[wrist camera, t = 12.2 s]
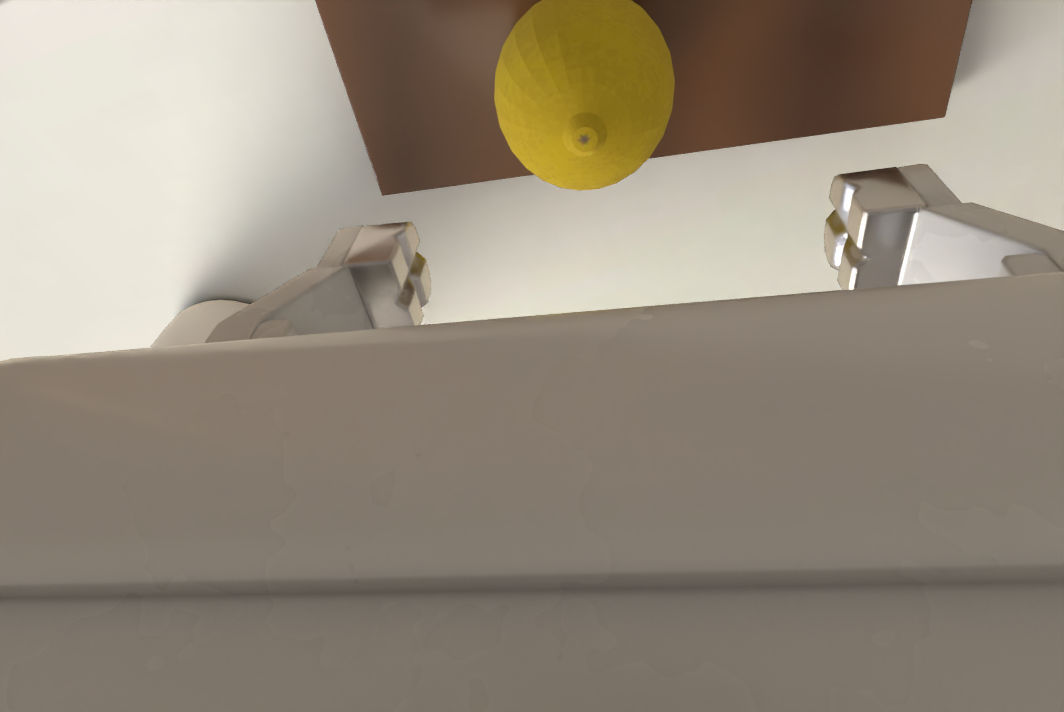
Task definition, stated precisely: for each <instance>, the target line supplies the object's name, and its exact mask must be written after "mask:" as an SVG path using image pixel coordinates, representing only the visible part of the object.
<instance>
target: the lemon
mask: <svg viewBox="0 0 1064 712" xmlns="http://www.w3.org/2000/svg"><path fill="white" fill-rule="evenodd" d="M674 86H675V78H674V72H673V66H672V60H671V54H670V51H669V49H668V47H667V44H666V42H665V40H664V38H663V36H662V33H661V31H660V29H659V27H658V26H657V25H656V24H655V22H654V21H653V20H652V19H651V18H650V16H649V15H648V14H647V13H646V12H645V10H644V9H643V8H642V7H640V6H639V5H637V4H636V3H634V2H633V1H632V0H541V1H540V2H538V3H536V4H534V5H533V6H532V7H531V8H530V9H529V10H528V11H527V12H526V13H525V14H524V15H523V16H522V17H521V18H520V19H519V20H518V21H517V23H516V24H515V26H514V27H513V29H512V31H511V32H510V34H509V36H508V38H507V39H506V41H505V43H504V44H503V47H502V50H501V54H500V57H499V61H498V64H497V68H496V72H495V93H494V100H495V106H496V111H497V115H498V120H499V125H500V128H501V130H502V132H503V134H504V136H505V138H506V140H507V143H508V145H509V147H510V149H511V150H512V152H513V153H514V154H515V155H516V157H517V158H518V159H519V160H520V161H521V163H522V164H523V165H524V166H525V167H526V168H527V169H528V170H529V171H531V172H532V173H534V174H535V175H536V176H538V177H539V178H540V179H542V180H543V181H546V182H548V183H551V184H553V185H556V186H558V187H561V188H566V189H573V190H592V189H600V188H603V187H606V186H609V185H612V184H615V183H617V182H619V181H620V180H622V179H624V178H625V177H627V176H629V175H630V174H632V173H634V172H635V171H636V170H637V169H638V168H639V167H640V166H641V165H642V164H643V163H644V162H645V161H646V160H647V159H648V158H650V156H651V154H652V153H653V151H654V150H655V148H656V147H657V145H658V143H659V142H660V140H661V139H662V137H663V135H664V132H665V129H666V127H667V124H668V121H669V118H670V115H671V112H672V107H673V97H674Z"/></svg>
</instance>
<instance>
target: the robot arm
mask: <svg viewBox="0 0 1064 712" xmlns="http://www.w3.org/2000/svg"><path fill="white" fill-rule="evenodd" d="M829 199H830V200H831V202H832V204H833V206H834V208H835V210H834V211H833V212H832V213H831V215H830V216H829V217H828V218H827V219H826V224H825V233H824V244H825V253H826V257H827V260H828V262H829V264H830V266H831V267H832V268H834V269H836V270H838V271H839V273H838V279H837V281H838V283H839V285H840V287H841V288H842V290H837V291H825V292H813V293H801V294H789V295H777V296H765V297H753V298H741V299H729V300H717V301H705V302H693V303H681V304H669V305H657V306H645V307H633V308H621V309H609V310H597V311H585V312H573V313H561V314H548V315H536V316H524V317H512V318H500V319H488V320H476V321H464V322H452V323H440V324H428V325H421V323H422V320H423V317H424V315H423V312H422V309H421V308H422V307H423V306H424V305H426V304H427V303H428V301H429V297H430V294H431V279H430V273H429V268H428V265H427V261H426V259H425V258H424V257H422V256H421V255H420V254H419V253H418V252H416V251H417V248H418V246H419V243H420V239H419V236H418V233H417V230H416V227H415V226H414V225H413V224H412V222H402V223H391V224H380V225H369V226H363V225H362V226H356V227H349V228H343V229H339V230H338V232H337V234H336V235H335V237H334V239H333V240H332V242H331V244H330V246H329V247H328V249H327V251H326V252H325V254H324V256H323V257H322V259H321V261H320V263H319V264H318V266H317V268H314V269H308V270H307V271H305V272H303V273H302V274H300V275H298V276H297V277H295V278H293V279H292V280H290V281H288V282H287V283H285V284H283V285H282V286H280V287H278V288H277V289H275V290H273V291H272V292H270V293H268V294H267V295H265V296H263V297H262V298H260V299H258V300H257V301H255V302H253V303H252V304H250V305H248V306H247V307H245V308H243V309H241V310H240V311H238V312H236V313H235V314H233V315H231V316H230V317H228V318H226V319H225V320H223V321H221V322H220V323H218V324H217V326H216V327H215V328H214V330H213V331H212V333H211V334H210V335H209V337H208V338H207V340H206V341H205V343H201V344H189V345H177V346H166V347H154V348H142V349H130V350H118V351H106V352H94V353H82V354H70V355H58V356H38V357H24V358H13V359H8V360H3V361H0V712H1064V231H1062V230H1058V229H1055V228H1052V227H1049V226H1046V225H1042V224H1039V223H1036V222H1033V221H1030V220H1026V219H1023V218H1020V217H1017V216H1013V215H1010V214H1007V213H1004V212H1001V211H997V210H994V209H991V208H988V207H985V206H981V205H978V204H975V203H972V202H971V203H961V201H960V200H959V199H958V198H957V197H956V196H955V195H954V194H953V193H952V191H951V190H950V189H949V188H948V187H947V186H946V185H945V184H944V183H943V181H942V180H941V179H940V178H939V177H938V176H937V175H936V174H935V173H934V172H933V170H932V169H931V168H930V167H929V166H928V165H926V164H917V165H910V166H904V167H897V168H896V167H892V168H884V169H877V170H869V171H862V172H854V173H847V174H839V175H837V176H835V177H834V179H833V182H832V185H831V190H830V196H829Z"/></svg>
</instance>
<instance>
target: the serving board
mask: <svg viewBox="0 0 1064 712" xmlns="http://www.w3.org/2000/svg"><path fill="white" fill-rule="evenodd" d="M315 1H316V4H317V7H318V10H319V13H320V16H321V19H322V22H323V25H324V28H325V31H326V34H327V36H328V39H329V42H330V45H331V48H332V51H333V54H334V57H335V60H336V63H337V66H338V68H339V71H340V74H341V77H342V80H343V83H344V86H345V89H346V92H347V95H348V98H349V101H350V103H351V106H352V109H353V112H354V115H355V118H356V121H357V124H358V127H359V130H360V133H361V135H362V138H363V141H364V144H365V147H366V150H367V153H368V156H369V159H370V162H371V165H372V168H373V170H374V173H375V176H376V179H377V182H378V185H379V188H380V191H381V194H382V195H383V196H384V195H391V194H398V193H405V192H413V191H420V190H427V189H434V188H441V187H448V186H456V185H463V184H470V183H477V182H484V181H491V180H499V179H506V178H513V177H520V176H527V175H534V173H532V172H531V171H529V170H528V169H527V168H526V167H525V166H524V165H523V164H522V163H521V161H520V160H519V159H518V158H517V157H516V155H515V154H514V153H513V152H512V150H511V149H510V147H509V145H508V143H507V140H506V138H505V136H504V134H503V132H502V130H501V128H500V125H499V120H498V115H497V111H496V106H495V100H494V93H495V72H496V68H497V64H498V61H499V57H500V54H501V50H502V47H503V44H504V43H505V41H506V39H507V38H508V36H509V34H510V32H511V31H512V29H513V27H514V26H515V24H516V23H517V21H518V20H519V19H520V18H521V17H522V16H523V15H524V14H525V13H526V12H527V11H528V10H529V9H530V8H531V7H532V6H533V5H534V4H536V3H538V2H540V1H541V0H315ZM632 1H633V2H634V3H636V4H637V5H639V6H640V7H642V8H643V9H644V10H645V12H646V13H647V14H648V15H649V16H650V18H651V19H652V20H653V21H654V22H655V24H656V25H657V26H658V27H659V29H660V31H661V33H662V36H663V38H664V40H665V42H666V44H667V47H668V49H669V51H670V54H671V60H672V66H673V72H674V78H675V86H674V97H673V107H672V112H671V115H670V118H669V121H668V124H667V127H666V129H665V132H664V135H663V137H662V139H661V140H660V142H659V143H658V145H657V147H656V148H655V150H654V151H653V153H652V154H651V156H650V158H656V157H663V156H671V155H678V154H685V153H692V152H699V151H706V150H714V149H721V148H728V147H735V146H742V145H749V144H757V143H764V142H771V141H778V140H785V139H792V138H800V137H807V136H814V135H821V134H828V133H835V132H843V131H850V130H857V129H864V128H871V127H878V126H886V125H893V124H900V123H907V122H914V121H922V120H929V119H936V118H943V117H945V115H946V110H947V106H948V102H949V98H950V93H951V89H952V85H953V81H954V76H955V72H956V68H957V64H958V59H959V55H960V51H961V47H962V42H963V38H964V34H965V30H966V25H967V21H968V17H969V13H970V8H971V4H972V0H632ZM648 159H649V158H648Z"/></svg>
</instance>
